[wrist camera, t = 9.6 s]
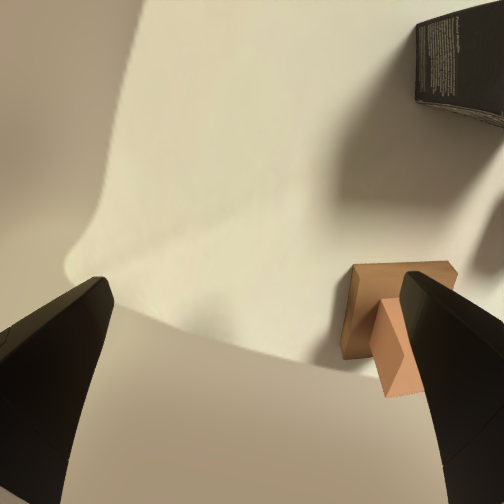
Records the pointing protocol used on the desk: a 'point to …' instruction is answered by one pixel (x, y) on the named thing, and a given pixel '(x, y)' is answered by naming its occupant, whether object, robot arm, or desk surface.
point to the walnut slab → (373, 290)
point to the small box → (463, 62)
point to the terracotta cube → (394, 351)
